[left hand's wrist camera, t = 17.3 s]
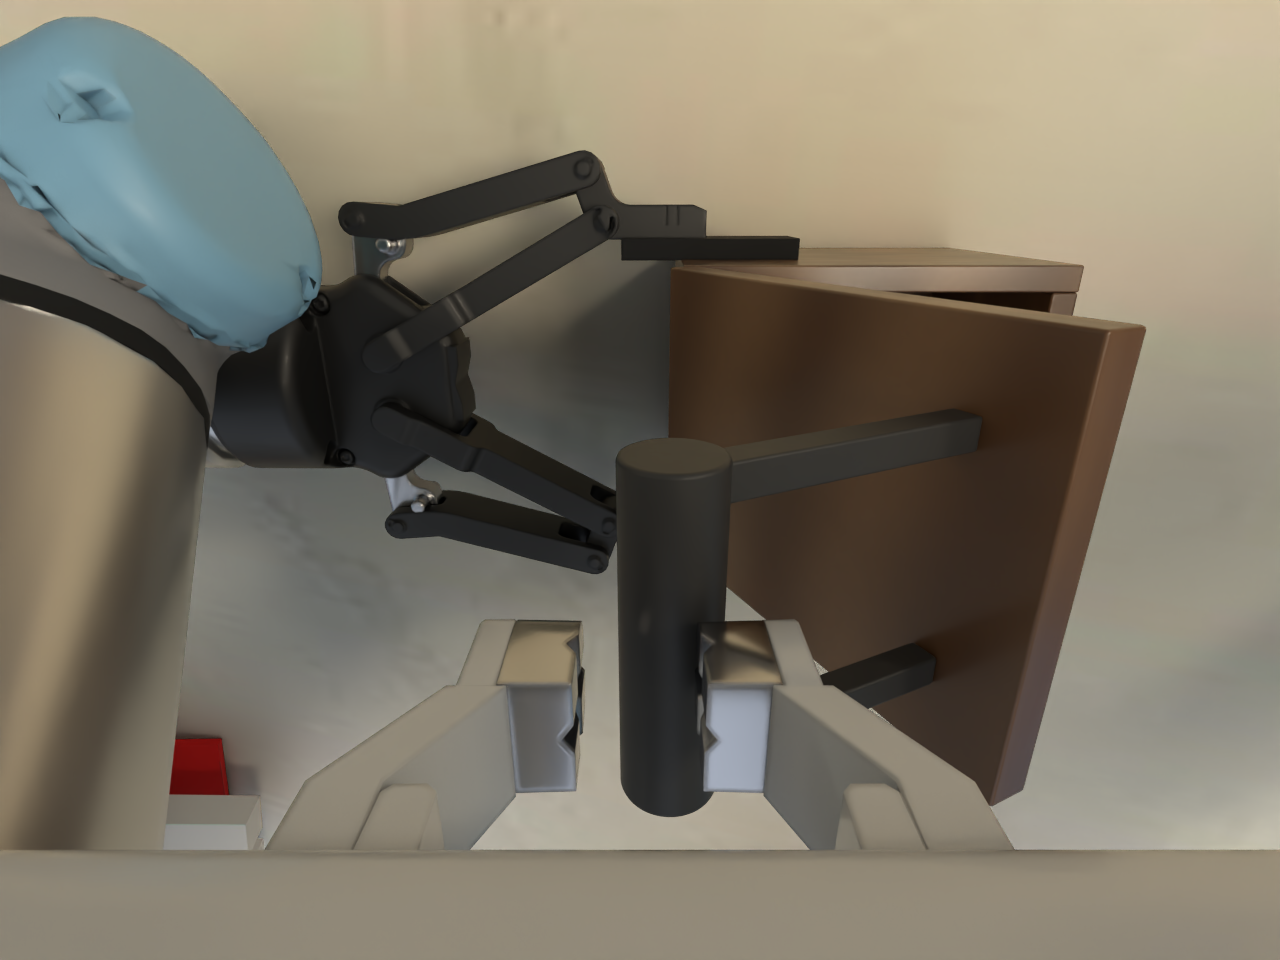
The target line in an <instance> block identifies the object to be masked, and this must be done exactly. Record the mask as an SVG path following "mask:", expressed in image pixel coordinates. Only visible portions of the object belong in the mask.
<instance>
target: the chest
mask: <svg viewBox="0 0 1280 960" xmlns="http://www.w3.org/2000/svg"><path fill="white" fill-rule="evenodd" d="M693 266H698V267H706V268H713V269H721V270H728V271H736V272H744V273H751V274H759V275H766V276H774V277H782V278H789V279H797V280H804V281H812V282H819V283H827V284H835V285H842V286H850V287H857V288H865V289H873V290H880V291H888V292H895V293H903V294H910V295H918V296H926V297H933V298H941V299H948V300H956V301H964V302H971V303H979V304H986V305H994V306H1001V307H1009V308H1017V309H1024V310H1032V311H1039V312H1047V313H1055V314H1062V315H1070V316H1072V315H1073V311H1074V306H1075V302H1076V297H1077V294H1076V293H1075V292H1078V291H1079V286H1080V282H1081V277H1082V273H1083V269H1084V266H1083V265H1077V264H1069V263H1061V262H1054V261H1046V260H1038V259H1031V258H1023V257H1015V256H1007V255H1000V254H992V253H984V252H977V251H969V250H961V249H953V248H799V256H798V260H675V267H693Z"/></svg>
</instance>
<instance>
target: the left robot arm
mask: <svg viewBox="0 0 1280 960" xmlns="http://www.w3.org/2000/svg"><path fill="white" fill-rule="evenodd" d="M583 648H584V640H583V625H582V621H558V620H517V621H516V620H515V619H500V620H484V621H483V622H481V623H480V625H479V628H478V630H477V633H476V635H475V638H474V640H473V643H472V646H471V648H470V651H469V653H468V656H467V658H466V661H465V663H464V666H463V669H462V671H461V674H460V676H459V679H458V681H457V684H456V685H451V686H445V687H443V688H442V689H440V690H439V691H438V692H436V693H435V694H433V695H432V696H430V697H429V698H427V699H426V700H424V701H423V702H421V703H420V704H418V705H417V706H415V707H414V708H412V709H411V710H409V711H408V712H406V713H405V714H403V715H402V716H400V717H399V718H398V719H396V720H395V721H393V722H392V723H390V724H389V725H387V726H386V727H384V728H383V729H381V730H380V731H378V732H377V733H375V734H374V735H372V736H371V737H369V738H368V739H366V740H365V741H363V742H362V743H360V744H359V745H358V746H356V747H355V748H353V749H352V750H350V751H349V752H347V753H346V754H344V755H343V756H341V757H340V758H338V759H337V760H335V761H334V762H332V763H331V764H329V765H328V766H326V767H325V768H323V769H322V770H321V771H319V772H318V773H316V774H315V775H313V776H312V777H310V778H309V779H307V780H306V781H305V782H304V784H303V786H302V787H301V789H300V791H299V792H298V794H297V796H296V797H295V799H294V801H293V803H292V804H291V806H290V808H289V809H288V811H287V813H286V814H285V816H284V818H283V819H282V821H281V823H280V825H279V826H278V828H277V830H276V831H275V833H274V835H273V836H272V838H271V840H270V841H269V843H268V845H267V846H266V848H265V850H0V960H1280V850H1015V849H1014V848H1013V846H1012V844H1011V843H1010V841H1009V839H1008V837H1007V836H1006V834H1005V832H1004V831H1003V829H1002V827H1001V826H1000V824H999V822H998V820H997V819H996V817H995V815H994V814H993V812H992V810H991V808H990V807H989V805H988V803H987V802H986V800H985V798H984V796H983V795H982V793H981V791H980V790H979V788H978V786H977V784H976V783H975V781H973V780H972V779H970V778H969V777H967V776H966V775H964V774H963V773H961V772H960V771H958V770H957V769H955V768H954V767H952V766H951V765H950V764H948V763H947V762H945V761H944V760H942V759H941V758H939V757H938V756H936V755H935V754H933V753H932V752H930V751H929V750H927V749H926V748H924V747H923V746H922V745H920V744H919V743H917V742H916V741H914V740H913V739H911V738H910V737H908V736H907V735H905V734H904V733H902V732H901V731H899V730H898V729H896V728H895V727H894V726H892V725H891V724H889V723H888V722H886V721H885V720H883V719H882V718H880V717H879V716H877V715H876V714H874V713H873V712H871V711H870V710H868V709H867V708H866V707H864V706H863V705H861V704H860V703H858V702H857V701H855V700H854V699H852V698H851V697H849V696H848V695H846V694H845V693H843V692H842V691H840V690H839V689H838V688H836V687H835V686H829V685H823V683H822V680H821V678H820V675H819V673H818V670H817V668H816V665H815V663H814V660H813V657H812V655H811V652H810V650H809V647H808V645H807V642H806V640H805V637H804V635H803V632H802V630H801V627H800V625H799V622H798V621H796V620H795V619H781V620H762V621H720V622H697V630H696V652H697V660H698V667H697V668H696V669H695V718H696V729H697V733H698V734H699V735H700V750H699V757H700V765H701V774H702V782H703V790H704V791H714V792H750V793H764V797H765V798H766V799H767V800H768V801H769V802H770V804H771V805H772V806H773V807H774V808H775V809H776V811H777V812H778V813H779V814H780V815H781V816H782V818H783V819H784V820H785V821H786V822H787V823H788V825H789V826H790V827H791V828H792V829H793V830H794V832H795V833H796V834H797V835H798V836H799V837H800V839H801V840H802V841H803V842H804V843H805V844H806V846H807V847H808V848H809V849H810V850H470V849H471V848H472V847H473V845H474V844H475V843H476V842H477V841H478V840H479V838H480V837H481V836H482V835H483V834H484V833H485V831H486V830H487V829H488V828H489V827H490V826H491V825H492V823H493V822H494V821H495V820H496V819H497V818H498V816H499V815H500V814H501V813H502V812H503V811H504V809H505V808H506V807H507V806H508V805H509V804H510V802H511V801H512V800H513V799H514V798H515V797H516V793H529V792H564V791H576V787H577V778H578V770H579V761H580V735H581V734H582V733H583V724H584V710H585V670H584V669H583V667H582V666H581V665H582V656H583Z"/></svg>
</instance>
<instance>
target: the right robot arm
mask: <svg viewBox="0 0 1280 960" xmlns="http://www.w3.org/2000/svg"><path fill="white" fill-rule="evenodd" d="M574 194H576V195H577V197H578V200H579V203H580V205H581V208H582V211H583V214H582V215H581V216H579V217H577V218H576V219H574V220H572V221H571V222H569V223H568V224H566V225H564V226H563V227H561V228H559V229H558V230H556V231H554V232H553V233H551V234H549V235H548V236H546V237H544V238H543V239H541V240H539V241H538V242H536V243H535V244H533V245H531V246H530V247H528V248H526V249H525V250H523V251H521V252H520V253H518V254H516V255H515V256H513V257H511V258H510V259H508V260H506V261H505V262H503V263H501V264H500V265H498V266H497V267H495V268H493V269H492V270H490V271H488V272H487V273H485V274H483V275H482V276H480V277H478V278H477V279H475V280H473V281H472V282H470V283H468V284H467V285H465V286H464V287H462V288H460V289H459V290H457V291H455V292H453V293H452V294H450V295H448V296H446V297H444V298H443V299H441V300H439V301H438V302H436V303H434V304H433V305H431V304H430V303H428V302H427V301H425V300H424V299H422V298H421V297H420V296H418V295H417V294H415V293H414V292H412V291H411V290H409V289H408V288H406V287H405V286H404V285H402V284H401V283H399V282H398V281H396V280H395V279H393V278H392V277H390V276H389V275H388V269H389V267H390V265H391V264H392V262H393V261H395V260H397V259H402V258H406V257H407V256H409V255H410V254H411V253H412V250H413V246H414V239H413V238H421V237H430V236H435V235H440V234H444V233H447V232H450V231H454V230H457V229H460V228H464V227H467V226H470V225H474V224H477V223H480V222H484V221H487V220H490V219H494V218H497V217H500V216H504V215H507V214H511V213H514V212H517V211H521V210H524V209H527V208H531V207H534V206H537V205H541V204H544V203H547V202H551V201H554V200H557V199H561V198H564V197H567V196H571V195H574ZM706 213H707V211H706V210H704V209H702V208H699V207H697V206H695V205H627V204H624V203H622V202H620V201H619V200H618V199H617V198H616V197H615V196H614V194H613V192H612V190H611V187H610V184H609V181H608V178H607V175H606V173H605V169H604V166H603V164H602V162H601V161H600V160H599V159H598V158H597V157H596V156H595V155H594V154H592V153H591V152H588V151H586V150H583V151H577V152H573V153H570V154H567V155H563V156H560V157H557V158H554V159H550V160H547V161H544V162H541V163H537V164H534V165H531V166H528V167H524V168H521V169H518V170H515V171H511V172H508V173H505V174H502V175H498V176H495V177H492V178H488V179H485V180H482V181H479V182H475V183H472V184H469V185H466V186H462V187H459V188H456V189H453V190H449V191H446V192H443V193H440V194H436V195H433V196H430V197H426V198H423V199H420V200H417V201H413V202H410V203H407V204H404V205H401V204H390V203H379V202H348V203H346V204H344V205H343V206H342V207H341V209H340V210H339V215H338V219H339V223H340V226H341V227H342V229H343V230H344V231H345V232H346V233H348V234H349V235H352V244H353V259H354V273H355V275H354V276H352V277H350V278H348V279H347V280H345V281H344V282H342V283H340V284H338V285H321V278H322V258H321V252H320V247H319V241H318V238H317V235H316V232H315V229H314V226H313V223H312V220H311V217H310V215H309V213H308V210H307V208H306V206H305V204H304V202H303V200H302V198H301V196H300V194H299V192H298V190H297V188H296V186H295V185H294V183H293V181H292V180H291V178H290V176H289V174H288V173H287V171H286V170H285V168H284V167H283V165H282V164H281V162H280V160H279V159H278V157H277V156H276V155H275V153H274V152H273V150H272V149H271V147H270V146H269V144H268V143H267V142H266V141H265V139H264V138H263V137H262V135H261V134H260V133H259V132H258V131H257V129H256V128H255V127H254V126H253V125H252V124H251V123H250V121H249V120H248V119H247V118H246V117H245V116H244V115H243V114H242V113H241V111H240V110H239V109H238V108H237V107H236V106H235V105H234V104H233V103H232V102H231V101H230V100H229V99H228V98H227V97H226V96H225V95H224V94H223V93H222V92H221V91H220V89H219V88H218V87H217V86H216V85H215V84H214V83H212V82H211V81H210V80H209V79H208V78H207V77H206V76H205V75H204V74H203V73H201V72H200V71H199V70H198V69H197V68H196V67H194V66H193V65H192V64H191V63H189V62H188V61H187V60H186V59H184V58H183V57H182V56H180V55H179V54H178V53H176V52H174V51H173V50H171V49H170V48H168V47H167V46H165V45H164V44H162V43H160V42H159V41H157V40H155V39H154V38H152V37H150V36H148V35H146V34H144V33H143V32H141V31H138V30H136V29H133V28H131V27H128V26H126V25H123V24H120V23H118V22H115V21H111V20H106V19H102V18H97V17H63V18H60V19H57V20H54V21H51V22H48V23H45V24H43V25H41V26H39V27H38V28H36V29H34V30H32V31H30V32H29V33H27V34H25V35H23V36H21V37H19V38H17V39H15V40H13V41H11V42H9V43H7V44H5V45H3V46H1V47H0V850H163V845H164V836H165V827H166V818H167V809H168V800H169V791H170V782H171V773H172V764H173V755H174V745H175V736H176V727H177V718H178V709H179V700H180V691H181V682H182V673H183V664H184V655H185V646H186V637H187V628H188V618H189V609H190V600H191V591H192V582H193V573H194V564H195V555H196V546H197V537H198V528H199V519H200V510H201V501H202V491H203V482H204V473H205V468H236V467H241V466H244V465H246V464H247V465H249V466H252V467H257V468H344V467H357V468H362V469H365V470H368V471H370V472H372V473H374V474H376V475H378V476H381V477H384V478H385V481H386V485H387V490H388V494H389V498H390V502H391V506H392V513H391V514H390V515H389V516H388V518H387V519H386V521H385V528H386V530H387V532H388V533H389V534H390V535H391V536H393V537H395V538H400V539H405V538H419V537H434V536H441V537H445V538H449V539H453V540H457V541H461V542H465V543H469V544H473V545H477V546H481V547H485V548H489V549H493V550H497V551H501V552H505V553H510V554H514V555H518V556H522V557H526V558H530V559H534V560H538V561H542V562H546V563H550V564H554V565H558V566H562V567H566V568H570V569H574V570H579V571H583V572H587V573H591V574H599V573H602V572H603V571H605V570H606V568H607V567H608V563H609V559H610V556H611V553H612V551H613V548H614V546H615V543H616V542H617V511H616V491H614V490H613V489H611V488H609V487H607V486H605V485H603V484H601V483H599V482H597V481H595V480H593V479H591V478H589V477H587V476H585V475H583V474H581V473H579V472H577V471H575V470H573V469H572V468H570V467H568V466H566V465H564V464H562V463H560V462H558V461H556V460H554V459H552V458H550V457H548V456H546V455H544V454H542V453H540V452H538V451H536V450H534V449H533V448H531V447H529V446H527V445H525V444H523V443H521V442H519V441H517V440H515V439H513V438H511V437H509V436H507V435H505V434H503V433H501V432H500V431H498V430H497V429H496V428H495V426H494V425H493V424H492V423H490V422H489V421H487V420H485V419H483V418H481V417H479V416H477V415H475V414H473V413H472V412H473V411H474V410H475V409H476V405H475V394H474V389H473V387H472V384H471V381H470V379H469V376H468V369H469V363H470V357H471V351H470V340H469V337H465V336H464V334H463V332H462V330H461V328H460V327H461V326H463V325H465V324H466V323H468V322H470V321H471V320H473V319H475V318H477V317H478V316H480V315H482V314H483V313H485V312H487V311H488V310H490V309H492V308H493V307H495V306H497V305H498V304H500V303H502V302H504V301H505V300H507V299H509V298H510V297H512V296H514V295H515V294H517V293H519V292H520V291H522V290H524V289H526V288H527V287H529V286H531V285H532V284H534V283H536V282H537V281H539V280H541V279H542V278H544V277H546V276H547V275H549V274H551V273H553V272H554V271H556V270H558V269H559V268H561V267H563V266H564V265H566V264H568V263H569V262H571V261H573V260H574V259H576V258H578V257H580V256H581V255H583V254H585V253H586V252H588V251H590V250H591V249H593V248H595V247H596V246H598V245H600V244H602V243H603V242H605V241H607V240H608V239H621V255H622V260H798V256H799V243H800V239H799V238H794V237H789V236H706ZM430 456H431V457H433V458H435V459H437V460H439V461H441V462H443V463H445V464H447V465H449V466H451V467H453V468H455V469H457V470H460V471H464V472H475V473H477V474H479V475H481V476H483V477H485V478H487V479H489V480H491V481H493V482H495V483H497V484H499V485H501V486H503V487H505V488H507V489H509V490H511V491H513V492H515V493H517V494H519V495H521V496H523V497H525V498H527V499H529V500H531V501H533V502H535V503H537V504H539V505H541V506H543V507H545V508H547V509H549V510H551V511H553V512H555V513H557V514H559V515H561V516H563V517H561V516H557V515H553V514H549V513H545V512H541V511H537V510H533V509H529V508H526V507H522V506H518V505H514V504H510V503H506V502H502V501H498V500H494V499H490V498H486V497H482V496H478V495H474V494H470V493H465V492H460V491H450V490H441V488H440V485H439V484H438V483H437V482H435V481H427V480H423V479H421V478H420V477H418V476H417V474H416V473H415V471H414V468H416V467H417V466H418V465H420V464H421V463H422V462H424V461H425V460H426V459H428V458H429V457H430Z"/></svg>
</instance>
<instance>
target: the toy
mask: <svg viewBox="0 0 1280 960" xmlns="http://www.w3.org/2000/svg"><path fill="white" fill-rule="evenodd" d="M261 830H262V815H261V803H260V796H250V795H229V790H228V783H227V776H226V768H225V761H224V754H223V746H222V739H175V745H174V755H173V764H172V773H171V782H170V791H169V800H168V809H167V818H166V827H165V836H164V845H163V850H264V840H263V839H262V838H258V836H259V834H260V832H261Z"/></svg>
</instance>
